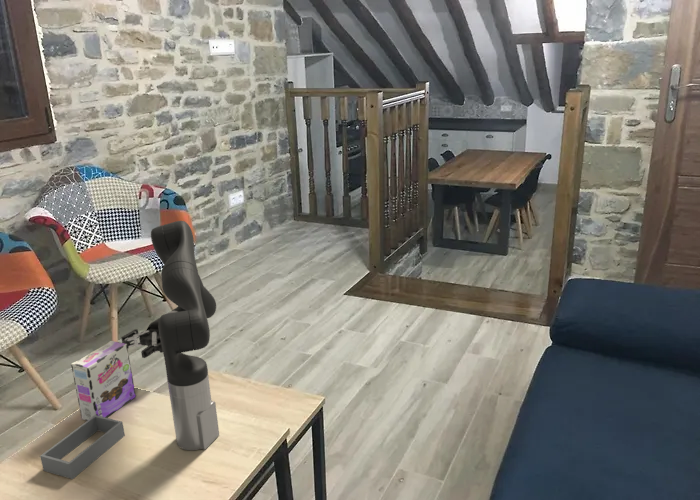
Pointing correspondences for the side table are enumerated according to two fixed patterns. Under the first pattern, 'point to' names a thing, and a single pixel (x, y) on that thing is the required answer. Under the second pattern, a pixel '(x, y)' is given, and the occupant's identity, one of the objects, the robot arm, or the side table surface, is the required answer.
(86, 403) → the candy box
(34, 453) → the side table surface
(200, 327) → the robot arm
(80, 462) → the bin
